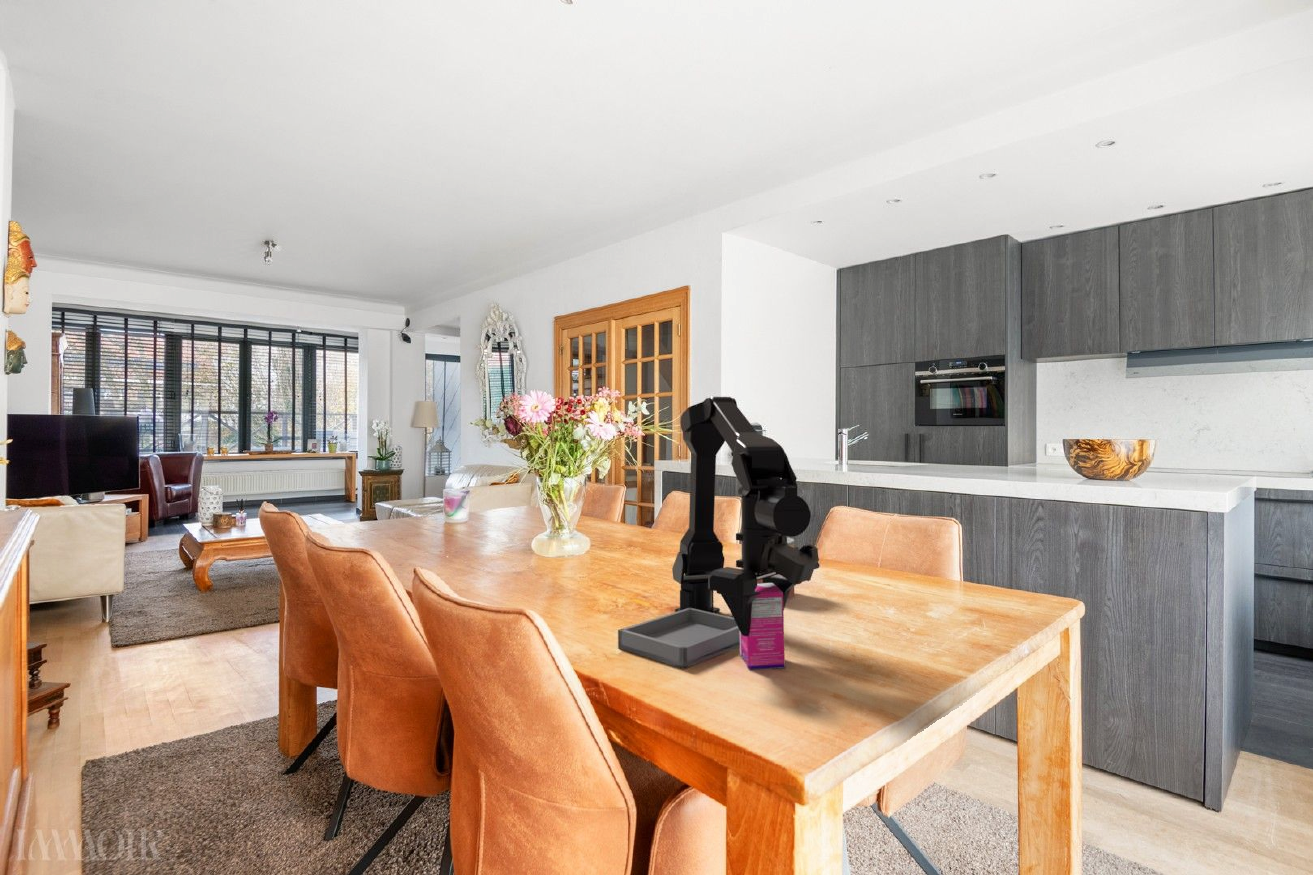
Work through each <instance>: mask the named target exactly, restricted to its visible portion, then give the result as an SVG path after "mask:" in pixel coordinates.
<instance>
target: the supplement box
mask: <svg viewBox="0 0 1313 875" xmlns="http://www.w3.org/2000/svg"><path fill="white" fill-rule="evenodd" d="M754 592H759V593H760V594H759V595H758V596H757V597H756V599H755V600H754V601H753V602H752V612H751V626H750V633H749V636H743V635H742V634H741V632H740V646H739V656H740V658H741V659H742V660H743V662H744V664H745V665H746V667H747V669H748V670H765V669H766V670H768V669H785V667H786V664H785V663H786V660H785V654H786V653H785V628H784V627H785V624H784V623H785V622H784V619H785V617H784V611H783V592H782V591H781V590H780V589H779V588H778V587H777V586H776V585H774V584H773V583H763V584H757V587H756V589H755V591H754ZM739 631H740V630H739Z"/></svg>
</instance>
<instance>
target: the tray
mask: <svg viewBox="0 0 1313 875" xmlns="http://www.w3.org/2000/svg"><path fill="white" fill-rule="evenodd" d="M617 640H618V641H617V646H618V649H619V650H623V651H625V652H629V653H632V654H634V655H639V656H641V657H645V658H647V659H651V660H653V661H657V662H660V663H662V664H667V665H669V666H673V667H676V668H679V669H682V670H685V669H687V668H691V667H692V666H695V665H697V664H700V663H702V662H704V661H706V660H709V659H711V658H714V657H716V656H718V655H721V654H724V653H726V652H729V651H730V650H733V649H736V648H739V647H740V631H739V628H738V626H737V624H736V622H735V620H734V617H733V616H728V615H724V614H718V613H716V612H715V613H711V612H706V611H702V610H698V609H693V608H687V609H684V610H680V611H677V612H675V611H674V612H671V613H668V614H665V615H662V616H659V617H655V618H652V619H649V620H646V621H642V622H639V623H635V624H632V625H630V626H626V627H623V628H619V629H617Z"/></svg>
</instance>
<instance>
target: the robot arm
mask: <svg viewBox="0 0 1313 875" xmlns="http://www.w3.org/2000/svg"><path fill="white" fill-rule="evenodd" d="M680 429H681V431H682V440H683V442H684V443H685V445H686V447H687V449H688V450H689V452H690V473H689V474H690V480H689V483H690V484H689V512H688V513H689V516H688V521H689V522H688V529H687V530H686V532H685V534H684V535H682V537H681V540H680V541H679V542H680V543H679V551H678V552H677V554H676V556H675V557H676V558H675V561H674V562H673V565H672V568H671V569H672V578H673V580H674V581H676V582H677V583H678V584H680V590H679V607H677V608H675V609H674V612H677V611H680V610H684V609H687V608H693V609H698V610H702V611H706V612H711V613H715V614H716V613H718V612H720V610H721V609H720V608H719V607H715V606H714V591H715V592H716V594H718V595H721V597H722V599H723V602H725V603H726V606H727V607H728V609H729V611H730V613H731V615H732V618H734V620H735V622H736V624H737V626H738V628H739V630H740V632H741V634H742V635H743V636H749V633H750V626H751V612H752V602H753V601H754V600H755V599H756V597H757V596H758V595H759V594H760V593H759V592H754V591H755V589H756V587H757V580H761V579H762V580H763V583H773V584H774V585H776V586H777V587H778V588H779V589H780V590H781V591H782V592H783V612H784V611H785V607H786V604H787V602H788V601H787V598H788V595H789V592H790V590H791V589H792V588H793V587H794V588H795V587H796V585H801V584H802V583H804V582H810V581H811V579H812V577H813V573H814V570H817V569H819V568H820V566H821V565H820V563H819V561H820V559H819V551H818V547H816V546H815V545H813V544H811V543H808V544H805V545H803V546H802V547H800V549H799V546H798V547H797V546H794V548H793V547H791V546H789V545H788V544H787V537H789V538H792V537H797V536H799V535H801V534H803V533H804V532H805V531H806V530H807V529H808V527H809V525H810V522H811V516H812V515H811V514H812V512H811V510H810V508H809V505H808V503H807V502H806V501H805V499H803V498H802V497H801V496H799V495H798V483H797V479H798V478H797V475H796V473H795V471H794V470H793V468H792V465H791V464H790V460H789V457H788V455H787V453H786V452H785V449H784V448H783V446H782V445H781V444H779V443H778V442H777V441H775V440H774V439H773V438H771V437H767V436H765V435H762V434H760V433H759V432H757V430H756V429H755V428H754V426H753V425H752V424H751V423H750V421H749V420H748V419H747V417H746V416H745V414H744V413H743V412H742V411H741V409H740V408H739V407H738V405H737V400H736V399H735V398H734V397H732V396H709V397H706V398H705V399H704V400H703V401H701V402H698V403H696V404H693V405H691V406H688V407H687V408H686V409H685V410H684V412H682V413H681V416H680ZM725 443H726V444H727V445H728V446H727V447H729V449H730V450H731V452H732V453H733V454H732V455H733V456H732V459H731V467H732V469H733V472H734V474H735V476H736V478H737V480H738V482H739V484H740V487H739V488H738V489H737V494H739V495H741V498H740V500H741V501H740V502H741V532H737V533H735V541H742V559H741V558H740V559H736V561H735V567H730V566H726V567H724V566H725V556H724V552H723V550H724V545H723V542H722V541H720V539H719V537H718V536H717V534H716V532H715V500H716V498H715V496H716V471H717V470H716V466H717V454H718V453H719V451H720V450H721V448H722V447H723V445H724V444H725ZM742 568H743V569H742ZM756 573H757V574H756Z"/></svg>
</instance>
